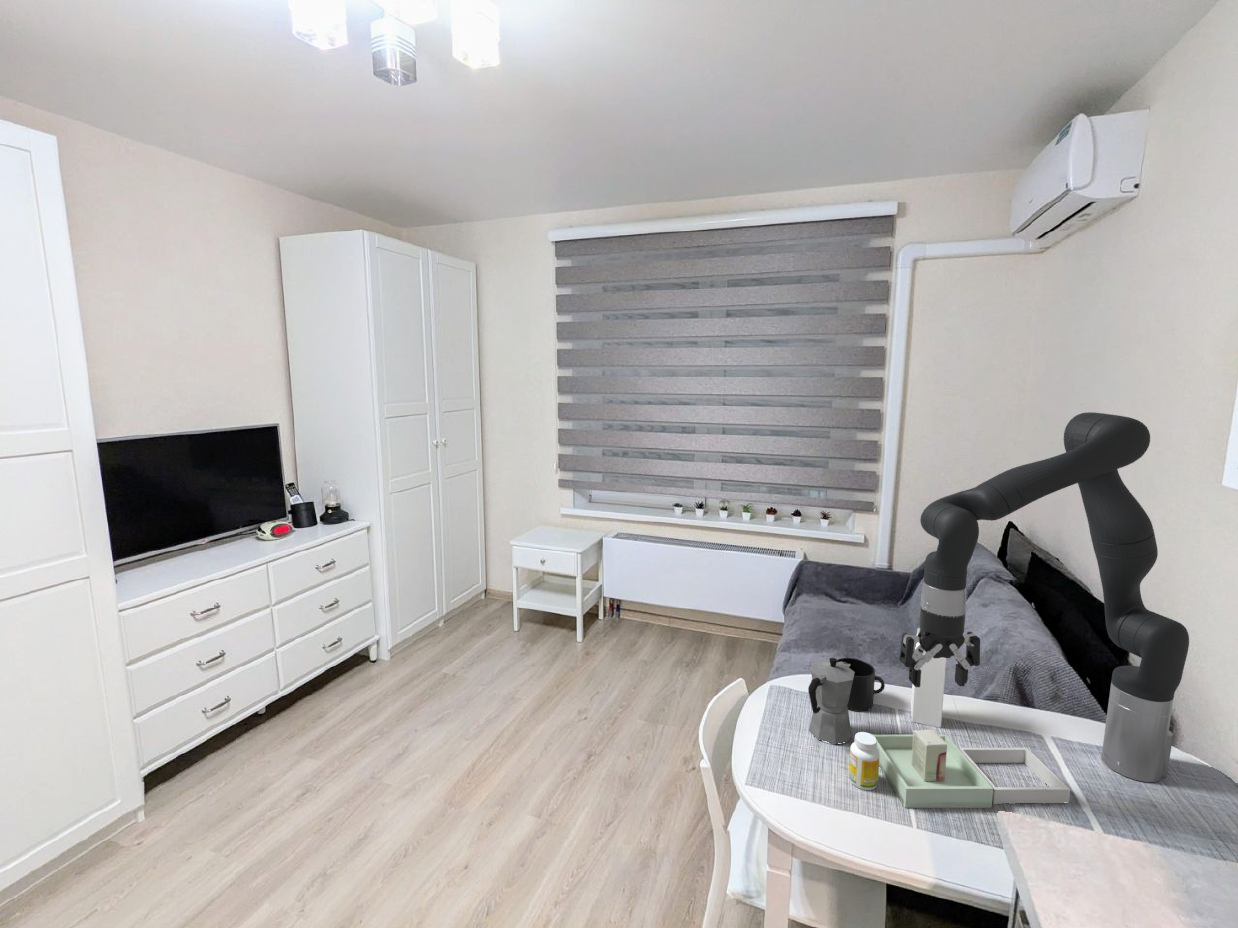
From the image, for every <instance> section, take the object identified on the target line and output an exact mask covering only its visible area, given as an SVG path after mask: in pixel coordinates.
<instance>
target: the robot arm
mask: <svg viewBox="0 0 1238 928" xmlns="http://www.w3.org/2000/svg"><path fill="white" fill-rule="evenodd" d="M1150 434H1151V433H1150V431H1149V429H1148V427H1147V425H1145V423H1144V422H1142V421H1140V420H1138V419H1135V418H1132V417H1129V416H1124V415H1117V414H1110V413H1104V412H1103V413H1102V412H1088V411H1087V412H1082V413H1079V414H1077V415H1074V416H1073V417H1072V418H1071V419H1070V420H1069V421H1068V422H1067V424H1066V426H1065V428H1064V431H1063V445H1064V450H1065V452H1064V453H1061V454H1057V455H1055V456H1052V457H1049V458H1045V459H1041V460H1037V461H1033V462H1029V463H1026V464H1022V465H1019V466H1016V467H1012V468H1010V469H1007V470H1005V471H1003V472H1001V473H998V474H997V475H995V476H993V477H991V478H988V480H986V481H983V482H981V483H979V484H978V485H977V486H974V487H971V488H969V489H965V490H961V491H958V492H955V493H952V494H949V495H946V496H944V497H941V498H939V499H936V500H935V501H933V502H931V503H930V504H928V505H927V506H926V507H925V508H924V509H923V511H922V513H921V515H920V520H919V521H920V525H921V527H922V529H923V530H924V532H926V533H927V534H928V535H929V536H932V537H933V538H935V539H937V540H938V545H937V548H936V550H934V551H931V552H929V553H928V554H927V555H926V556H925V560H924V572H923V584H922V587H921V595H920V611H919V624H918V625H919V628H920V632H919V634H918V635H917V634H915V635H911V634H908V633H907V632H903V633H902V635H901V642H900V650H899V656H898V657H899V661H900V662H901V663H902V664H903V665H904V666H905V668H908V669H909V670H908V680H909V682H910V683H911V684H913V685H914V686H915V687H920V682H921V670H920V668H921V667H922V666H923V665H924V664H925V663H928V662H929V661H930V660H931V659H932V657H933V658H941V657H943V658H947V659H951V658H953V659H954V660H955V661H956V664H955V669H954V670H955V671H954V681H955V684H957V685H958V686H959V687H965V686H966V685H965V684H967V682H968V676H969V669H970V668H971V667H973V666H975V667H979V666H980V664H981V638H980V637H979V636H977V635H976V634H975V633H973V632H972V631H968V632H966V634H964V633H965V624H966V613H967V612H966V611H967V602H968V600H967V597H968V596H967V577H968V565H969V564H970V562H971V559H972V557H973V555H974V551H975V549H976V546H977V544H978V541H979V535H980V528H979V522H978V521H981V520H983V521H991V522H992V521H997V520H1001V519H1003V518H1004V517H1007V516H1008V515H1010V514H1013V513H1014V512H1016V511H1018V510H1020V509H1022V508H1024V507H1025V506H1028V505H1029V504H1031V503H1034V502H1035V501H1038V500H1039V499H1042V498H1044V497H1047V496H1049V495H1050V494H1053V493H1056V492H1058V491H1061V490H1063V489H1066V488H1068V487H1071V486H1073V485H1076V484H1077V486H1078V488H1079V492H1080V495H1081V500H1082V503H1083V504H1082V505H1083V508H1084V511H1085V515H1086V519H1087V523H1088V528H1089V533H1090V540H1091V543H1092V547H1093V552H1094V554H1095V558H1096V563H1097V567H1098V571H1099V577H1100V582H1101V587H1102V595H1103V605H1104V617H1105V627H1106V631H1107V635H1108V637H1109V639H1110V640H1111V641H1112V642H1113V644H1114V645H1116V646H1117V647H1118V648H1121V650H1124V651H1126V652H1129V653H1131V654H1132V655H1134V656H1136V657H1138V658H1141V659H1140V664H1139V666H1135V665H1120V666H1116V667H1115V668H1114V669H1113V671H1112V675H1111V681H1110V682H1111V683H1110V690H1109V698H1108V705H1107V711H1106V712H1107V713H1106V720H1105V728H1104V734H1103V742H1102V751H1101V760H1102V761H1103V763H1104V764H1105V765H1106V766H1107V767H1108V768H1110V769H1111V770H1113V772H1114V771H1115V772H1116V773H1117V774H1120V775H1121V776H1124V777H1127V778H1128V779H1132V780H1135V781H1139V782H1145V783H1156V782H1158V781H1160V780H1161V779H1162V778H1166V777H1167V776H1168V771H1169V765H1170V758H1171V752H1172V746H1173V740H1174V738H1173V737H1174V734H1173V732H1172V731H1171V730H1170V725H1171V718H1172V712H1173V711H1172V710H1173V704H1174V698H1175V693H1176V690H1177V689H1178V687H1179V686H1180V684H1181V682H1182V678H1183V673H1184V669H1185V665H1186V661H1187V656H1188V652H1189V648H1190V635H1189V632H1188V629H1187V628H1186V626H1184V624H1182V623H1181V622H1179V621H1177V620H1175V619H1172V618H1169V617H1168V616H1164V615H1162V614H1160V613H1158V612H1157V613H1156V612H1154V611H1151V610H1149V609H1147V607H1146V606H1145V604H1144V602H1143V599H1142V594H1141V583H1142V582H1143V580H1144V579H1145V578H1146V576H1147V575H1148V574H1149V573H1150V571H1151V570H1152V568H1153V567H1154V566H1155V563H1156V561H1157V560H1158V552H1159V551H1158V544H1157V540H1156V533H1155V529H1154V527H1153V524H1152V523H1153V522H1152V521H1151V519H1150V517H1149V515H1148V514H1147V512H1146V511H1145V509H1144V507H1143V506H1142V505H1141V504H1140V503H1139V501H1138V500H1137V498H1136V497H1135V496H1134V495H1133V493H1131V491H1130V490H1129V488H1128V487H1127V486H1126V484H1125V483H1124V481H1123V480H1122V478H1121V476H1120V473H1119V470H1118V469H1121V468H1122V469H1123V468H1124V467H1127V466H1129V465H1131V464H1134V463H1135V462H1136V461H1138V460H1139V459H1141V458H1142V457H1143V456H1144V455H1145V453H1146V452H1147V451H1148V449H1149V446H1150V443H1151V435H1150ZM918 642H919V643H920V645H919V646H918V647H917V648H916V649H915V647H916V644H917V643H918ZM964 644H965V645H966V648H965V649H966V650H965V651H966V653H965V656H964V655H963V653H962V652H961V651H960V648H961V647H962V646H963V645H964ZM924 650H925V652H926V654H925V655H923V652H924Z"/></svg>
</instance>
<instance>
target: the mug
mask: <svg viewBox="0 0 1238 928" xmlns="http://www.w3.org/2000/svg"><path fill="white" fill-rule="evenodd" d="M837 662H846V663H848V664H851V665H850V667H849V668H850V669H851V670H853V671H854V672H855V673H854V678H853V683H852V687H851V692H850V696H849V701H848V704H847V707H848V711H853V712H854V711H855V712H864V711H868V710H870V709H872V707H873V705H874V696H875V695H877V694H880V693H882V692H883V691H884V690H885V685H886V683H885V681H884V679H883V678H881V677H880V676H877V675H876V669H875V668H874V666H873V665H872V664H871V663H869V662H867V661H865V660H862V659H859V658H853V657H843V658H842V657H841V658H838V659H837ZM837 662H836V663H837ZM875 681H878V682H879V683H880V688H878V689H875Z"/></svg>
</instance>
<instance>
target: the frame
mask: <svg viewBox="0 0 1238 928" xmlns="http://www.w3.org/2000/svg"><path fill="white" fill-rule="evenodd" d="M957 748H958V749H959V750H960V751H961V752H962V753H963V755H964V756H965V757H966V758H967V759H968V760H969V761H970V763H971V764H972V765H973V766H974V767H975V768H976V769H977V771H978V772H979V773H980V774H981V775H982V776H983V777H984V779H985V780H986V781H987V782H988V783H989V784H990V785H991V787H992V788H993V797H992V805H1003V804H1002V803H1009V804H1008V805H1014V804H1015V803H1064V802H1069V803H1070V795H1071V788H1070V787H1068V786H1067V785H1066V783H1064V781H1062V780H1061V778H1059V777H1058V776H1057V775H1056V774H1055V773H1053V771H1052V770H1051V769H1050V768H1049V767H1048V766H1046V764H1045V763H1043V762H1042V761H1041V760H1040V759H1039V758H1038V757H1037V756H1036V755H1035V754H1034V753H1032V751H1030V749H1028V748H1027V747H957ZM991 763H992V764H996V763H997V764H998V763H999V764H1001V763H1002V764H1004V763H1005V764H1006V763H1007V764H1009V763H1010V764H1011V763H1012V764H1013V763H1014V764H1017V763H1018V764H1023V763H1024V764H1025V765H1026V767H1028V768H1029V770H1031V772H1032V773H1034V774H1035V775H1036V776H1037V777H1038V778H1039V779H1040V780H1041V782H1042V783H1044V784H1045V783H1046V784H1047V785H1046V784H1045V785H1046V786H1039V787H1036V786H1034V787H1033V786H1021V787H1019V786H1018V787H1017V786H1012V787H1011V786H1009V787H1008V786H1005V787H1004V786H1003V787H1002V786H999V787H997V786H996V785H994V783H993V782H992V781H991V779H989V778H988V776H987V775H986V774H985V773H984V772H983V771H982V769H980V767H979V766H978V765H977V764H991ZM1048 786H1049V787H1048ZM998 803H999V804H998ZM1015 805H1016V804H1015Z"/></svg>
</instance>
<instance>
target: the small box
mask: <svg viewBox="0 0 1238 928" xmlns="http://www.w3.org/2000/svg"><path fill="white" fill-rule="evenodd" d="M912 731H913V733H912V735H913V747H912V762H911V765H912V766H913V768H914V769H915V770H916V771H917V773H918V774H919V775H920V776H921V778H922V779H923V780H924V781H938V780H945V768H946V753H947V744H946V743H945V741H944V740H943V739H942V738H941V737H940V736H939V735H940V734H938V733H937V732H936V731H935V730H934V729H914V730H912Z"/></svg>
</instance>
